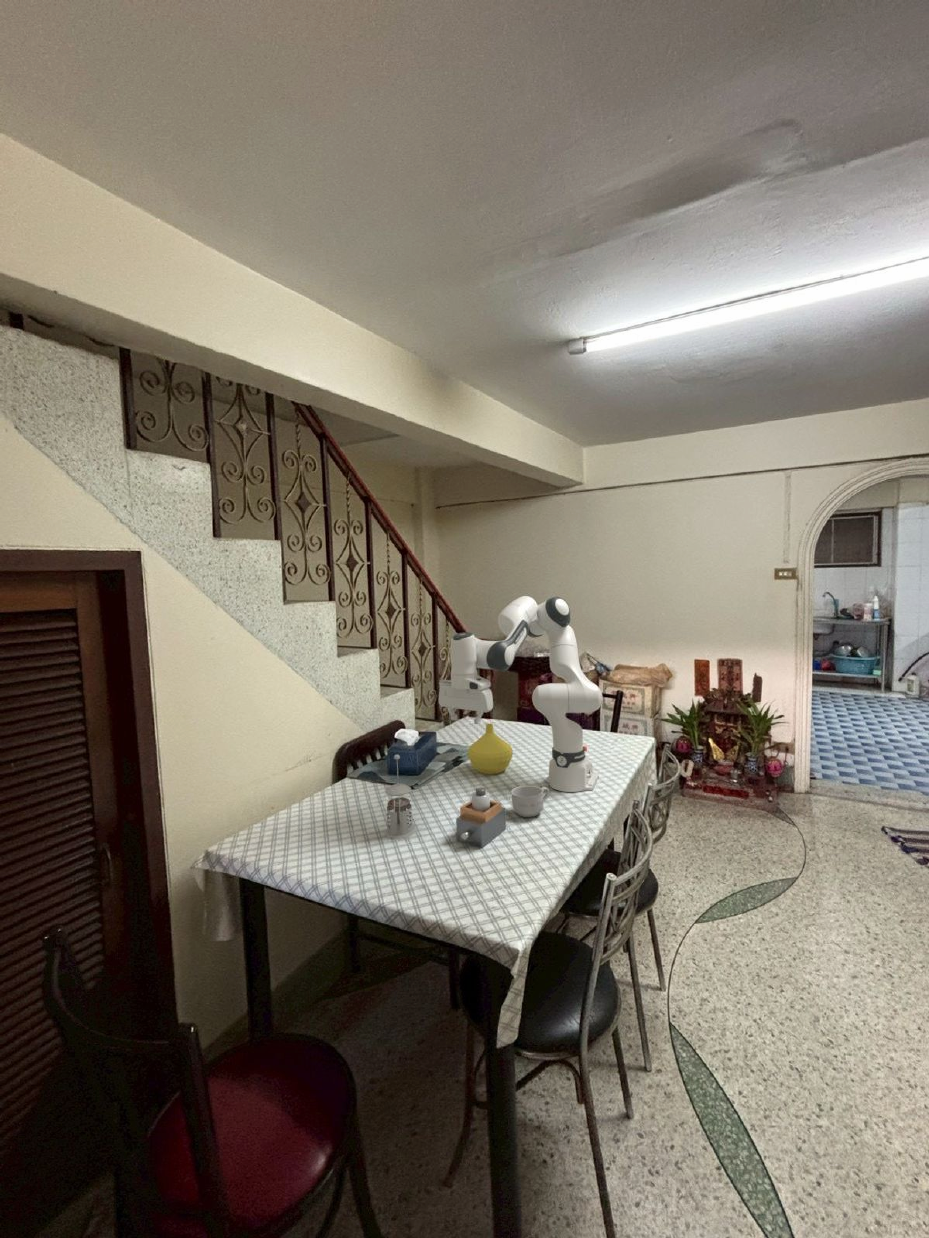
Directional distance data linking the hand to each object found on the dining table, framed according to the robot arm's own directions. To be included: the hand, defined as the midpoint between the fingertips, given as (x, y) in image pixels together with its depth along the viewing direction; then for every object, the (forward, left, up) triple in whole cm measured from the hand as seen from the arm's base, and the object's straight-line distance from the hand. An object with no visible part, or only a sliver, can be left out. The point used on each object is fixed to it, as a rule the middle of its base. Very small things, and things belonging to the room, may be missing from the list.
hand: (465, 721), depth 182 cm
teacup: (-10, +19, -31) cm, 38 cm away
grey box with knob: (+14, +13, -31) cm, 36 cm away
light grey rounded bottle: (+12, +13, -24) cm, 30 cm away
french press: (+24, -10, -31) cm, 41 cm away
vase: (-37, -14, -31) cm, 50 cm away
